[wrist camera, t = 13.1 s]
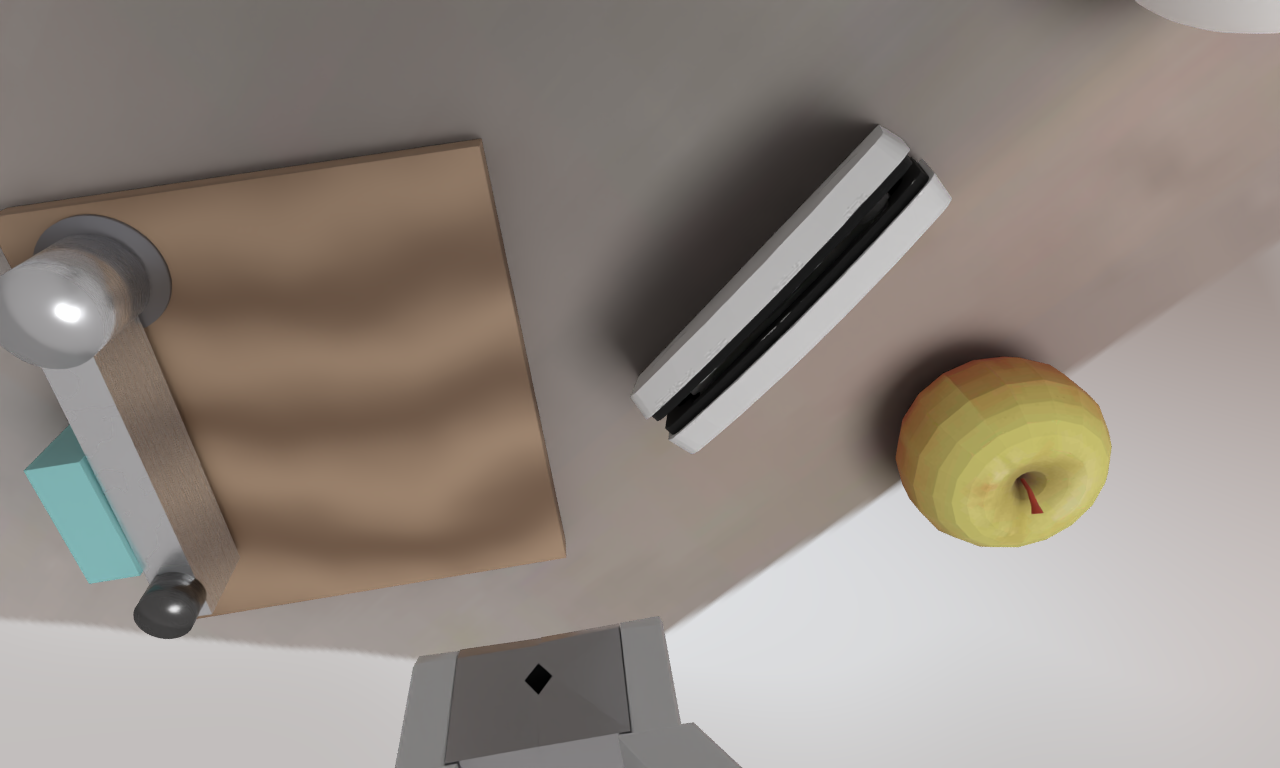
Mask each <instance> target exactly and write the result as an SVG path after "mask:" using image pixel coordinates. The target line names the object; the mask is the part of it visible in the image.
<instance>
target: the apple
mask: <svg viewBox="0 0 1280 768" xmlns="http://www.w3.org/2000/svg"><path fill="white" fill-rule="evenodd" d="M1111 447H1112V446H1111V441H1110V437H1109V432H1108V429H1107V426H1106V423H1105V421H1104V418H1103V415H1102V413H1101V410H1100V407H1099V405H1098V404H1097V403H1096V402H1095V401H1094V400H1093V399H1092V398H1091V397H1090V396H1089V395H1088V394H1087V392H1085V391H1084V390H1083V389H1081V388H1080V387H1079V386H1078V385H1077V384H1075V383H1074V382H1073V381H1072V380H1070V379H1069V378H1068V377H1067V376H1066V375H1064V374H1063V373H1061V372H1060V371H1058V370H1057V369H1055V368H1054V367H1052V366H1051V365H1049V364H1044V363H1040V362H1036V361H1032V360H1027V359H1023V358H1019V357H996V358H988V359H980V360H972V361H970V362H968V363H965V364H963V365H961V366H959V367H957V368H954V369H952V370H950V371H948V372H945V373H943V374H942V375H941V376H939V377H938V378H937V379H936V380H935V381H933V382H932V383H931V384H930V385H929V386H928V387H926V388H925V389H924V390H923V391H922V392H920V393H919V394H918V396H917V397H916V399H915V400H914V402H913V403H912V405H911V407H910V408H909V410H908V411H907V413H906V415H905V416H904V418H903V420H902V425H901V430H900V435H899V440H898V446H897V453H896V462H897V466H898V470H899V473H900V477H901V481H902V484H903V486H904V488H905V490H906V492H907V494H908V496H909V498H910V500H911V501H912V502H913V503H914V505H915V506H916V507H917V508H918V510H919V511H920V512H921V513H922V514H923V515H924V516H925V517H926V518H927V519H928V520H929V521H930V522H931V523H932V524H933V525H934V526H935V527H936V528H937V529H938V530H939V531H941V532H944V533H946V534H949V535H951V536H953V537H956V538H958V539H961V540H964V541H966V542H969V543H972V544H974V545H977V546H982V547H983V546H984V547H1021V546H1024V545H1028V544H1031V543H1035V542H1039V541H1042V540H1046V539H1048V538H1049V537H1051V536H1053V535H1055V534H1057V533H1058V532H1060V531H1062V530H1064V529H1065V528H1067V527H1069V526H1071V525H1072V524H1073V523H1074V522H1075V521H1076V520H1077V519H1078V518H1079V517H1081V515H1083V514H1084V513H1085V512H1086V511H1087V510H1088V509H1089V508H1090V507H1091V506H1092V505H1093V503H1094V501H1095V499H1096V498H1097V496H1098V494H1099V493H1100V491H1101V489H1102V487H1103V486H1104V484H1105V481H1106V478H1107V474H1108V469H1109V462H1110V454H1111Z"/></svg>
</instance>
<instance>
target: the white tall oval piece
mask: <svg viewBox="0 0 1280 768" xmlns="http://www.w3.org/2000/svg"><path fill="white" fill-rule="evenodd" d="M1135 1H1136V2H1137V3H1138V4H1139V5H1141V6H1142V7H1144V8H1146V9H1148V10H1150V11H1152V12H1154V13H1155V14H1157V15H1159V16H1161V17H1163V18H1165V19H1168V20H1170V21H1173V22H1176V23H1179V24H1183V25H1187V26H1191V27H1195V28H1199V29H1204V30H1209V31H1215V32H1224V33H1252V34H1266V33H1280V0H1135Z"/></svg>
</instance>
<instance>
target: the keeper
mask: <svg viewBox="0 0 1280 768" xmlns="http://www.w3.org/2000/svg"><path fill="white" fill-rule="evenodd" d="M24 472H25V474H26V476H27V478H28V479H29V481H30V483H31V484H32V486H33V488H34V490H35V491H36V493H37V495H38V496H39V498H40V500H41V502H42V503H43V505H44V507H45V509H46V510H47V512H48V514H49V515H50V517H51V519H52V521H53V522H54V524H55V526H56V527H57V529H58V531H59V533H60V534H61V536H62V538H63V539H64V541H65V543H66V545H67V546H68V548H69V550H70V552H71V553H72V555H73V557H74V558H75V560H76V562H77V564H78V565H79V567H80V569H81V570H82V572H83V574H84V576H85V577H86V579H87V581H88V582H89V584H91V583H97V582H103V581H109V580H115V579H121V578H128V577H134V576H140V575H141V573H142V572H143V570H142V568H141V566H140V564H139V562H138V560H137V558H136V556H135V554H134V552H133V550H132V548H131V546H130V544H129V542H128V540H127V538H126V536H125V534H124V532H123V530H122V528H121V526H120V524H119V522H118V520H117V518H116V516H115V514H114V512H113V510H112V508H111V506H110V504H109V502H108V500H107V498H106V496H105V494H104V492H103V490H102V488H101V486H100V484H99V482H98V480H97V478H96V476H95V474H94V472H93V470H92V468H91V466H90V464H89V462H88V460H87V458H86V456H85V454H84V452H83V450H82V448H81V446H80V444H79V442H78V440H77V438H76V436H75V434H74V432H73V430H72V428H71V426H70V425H69V426H68V427H67V428H66V429H65V430H64V431H63V432H62V433H61V434H60V435H59V436H58V437H57V438H56V439H55V440H54V441H53V442H52V443H51V444H50V445H49V446H48V447H47V448H46V449H45V450H44V451H43V452H42V453H41V454H40V455H39V456H38V457H37V458H36V459H35V460H34V461H33V462H32V463H31V464H30V465H29V466H28V467H27V468H26V469H25V470H24Z"/></svg>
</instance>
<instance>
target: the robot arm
mask: <svg viewBox="0 0 1280 768" xmlns="http://www.w3.org/2000/svg"><path fill="white" fill-rule="evenodd" d="M395 768H742V767H741V766H739V764H737V763H736V762H735V761H734V760H733V759H732V758H731V757H730V756H729V755H728V754H727V753H726V752H725V751H724V750H723V749H721V748H720V747H719V746H718V745H717V744H716V743H715V742H714V741H713V740H712V739H711V738H710V737H709V736H707V735H706V734H705V733H704V732H703V731H702V730H701V729H700V728H699V727H698V726H697V725H696V724H694V723H686V724H681V721H680V716H679V710H678V705H677V700H676V694H675V688H674V683H673V677H672V672H671V666H670V661H669V655H668V650H667V644H666V639H665V633H664V628H663V622H662V620H661V618H660V617H659V616H656V617H651V618H645V619H640V620H634V621H629V622H623V623H620V625H619V624H613V625H608V626H602V627H597V628H591V629H586V630H580V631H574V632H569V633H563V634H558V635H552V636H547V637H541V638H538V639H531V640H524V641H517V642H510V643H503V644H497V645H490V646H483V647H476V648H469V649H462V650H460V651H455V652H448V653H441V654H433V655H426V656H419V658H418V660H417V662H416V663H415V665H414V667H413V671H412V677H411V682H410V688H409V693H408V699H407V705H406V710H405V715H404V721H403V726H402V732H401V738H400V743H399V749H398V754H397V759H396V765H395Z"/></svg>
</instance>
